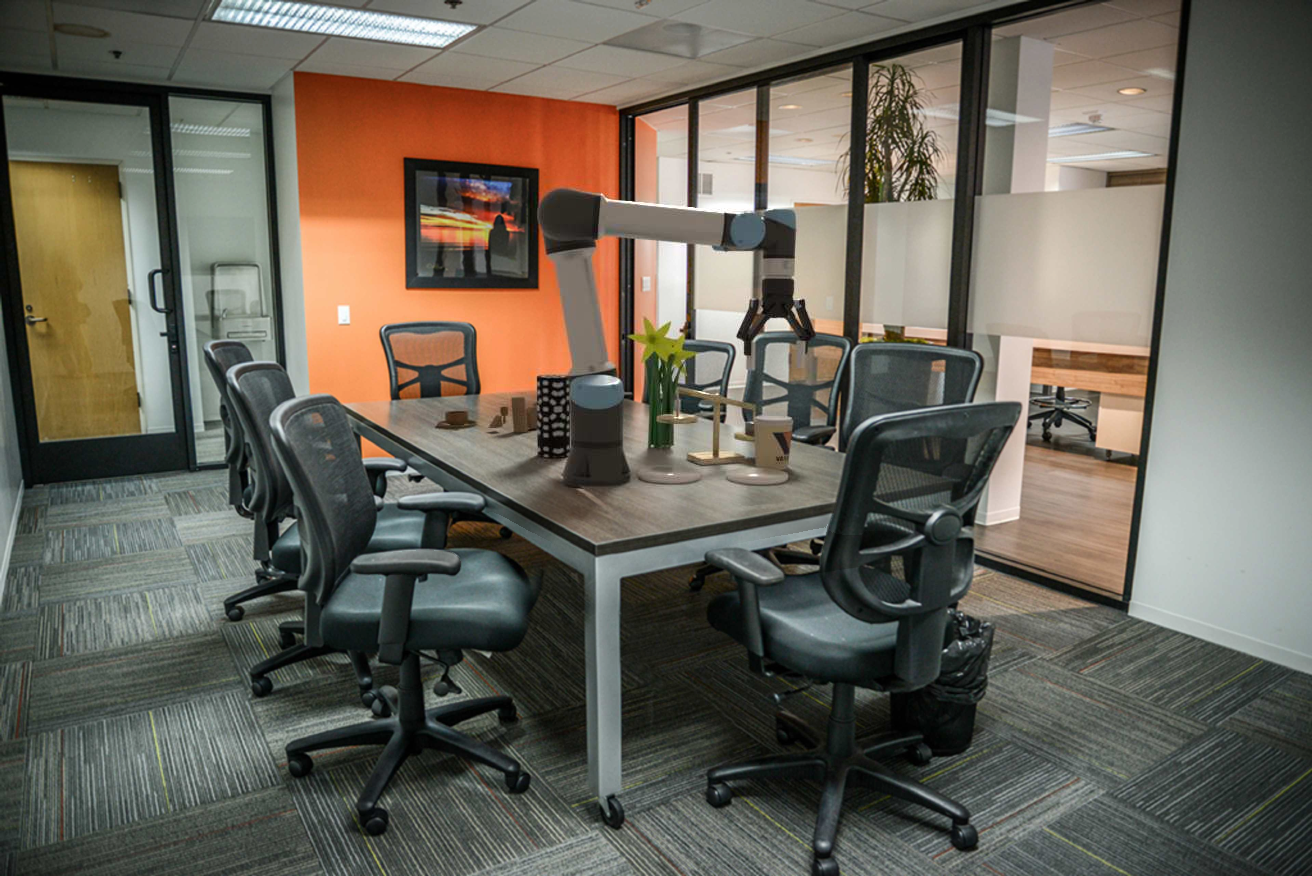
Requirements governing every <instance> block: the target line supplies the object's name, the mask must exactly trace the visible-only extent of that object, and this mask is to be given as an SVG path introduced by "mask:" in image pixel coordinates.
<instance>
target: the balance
mask: <svg viewBox="0 0 1312 876" xmlns="http://www.w3.org/2000/svg"><path fill="white" fill-rule="evenodd" d="M680 394H682V395H683V394H684V395H688V396H690V397H691V396H693V397H695V398H700V399H704V400H709V401H712V402H713V413H712V415H713V416H712V417H713V419H712V451H704V452H702V451H701V452H688V453H686V460H687V461H690V462H692V463H695V464H697V465H700V466H707V465H719V464H720V465H721V464H722V465H723V464H731V463H732V464H733V463H734V464H735V463H745V460H746V458H745V457H746V456H745V455H743V454H741V453H737V452H736V451H732V450H720V431H721V430H720V429H721V428H720V424H721V423H720V421H721V404H726V405H729V406H734V407H737V408H738V407H739V408H743V409H747V410H752V421H745V422H744V431H737V432H736V431H735V432H734V433H733V439H734V440H737V441H741V442H742V441H743V442H752V443H755V433H754V419H755V417H756V410H757V409H756V408H757V406H756V404H754V403H749V402H745V401H741V400H736V399H732V398H727V397H725V396H722V394H719V393H715V394H711V393H707V392H702V391H699V390H694V389H691V388H686V387H682V386H677V390H676V397H675V402H676V403H675V404H676V406H675V409H676V411H675V413H673V414H664V415H658V416H657V421H658V422H661V423H668V424H674V425H689V424H695V423H698V422H699V417H698V416H697V415H694V414H685V413H680V412H679V411H680Z"/></svg>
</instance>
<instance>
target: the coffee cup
mask: <svg viewBox="0 0 1312 876" xmlns="http://www.w3.org/2000/svg"><path fill="white" fill-rule="evenodd" d="M793 424H794V420H793V418H792V417H790V416H786V415H778V414H777V415H775V414H770V415H769V414H768V415H767V414H765V415H764V414H763V415H757V416H756V415H755V419H754V433H755V442H754V456H755V457H754V458H755V468H768V469H775V470H780V471H783V470H786V469H788V468H789V463H790V453H791V442H792V435H793Z"/></svg>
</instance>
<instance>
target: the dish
mask: <svg viewBox="0 0 1312 876" xmlns="http://www.w3.org/2000/svg"><path fill="white" fill-rule="evenodd" d="M725 479H726V480H728V481H730V482H733V483H738V484H744V485H752V486H753V485H756V486H758V485H759V486H765V485H767V486H768V485H779V484H783V483H786V482H788V480H789V473H787V472H785V471H783V470H775V469H768V468H757V467H737V468H732V469H728V470H726V471H725Z"/></svg>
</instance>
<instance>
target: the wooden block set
mask: <svg viewBox="0 0 1312 876" xmlns="http://www.w3.org/2000/svg"><path fill="white" fill-rule="evenodd" d="M526 405H527V404H526V397H525V396H513V397H511V410H512V411H511V414H512V425H513V426H512V428H513V433H515V434H520V433H522V434H524V433H527V432H528V429H535V428H537V402H534V403H533V406H527V407H526ZM498 428H503V416H502V415H499V414H498V415H495V416H494V418H493V419H492V421H491V423H489V426H488V429H498Z"/></svg>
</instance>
